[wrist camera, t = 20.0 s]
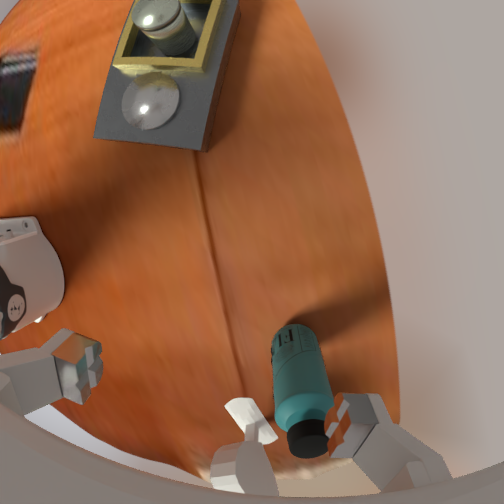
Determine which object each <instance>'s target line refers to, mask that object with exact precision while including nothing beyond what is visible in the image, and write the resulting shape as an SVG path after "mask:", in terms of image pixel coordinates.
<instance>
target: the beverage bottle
mask: <svg viewBox="0 0 504 504" xmlns="http://www.w3.org/2000/svg"><path fill="white" fill-rule="evenodd" d="M271 342H272V347H271V353H272V358H271V364H272V361H273V365H272V366H273V379H272V380H273V382H274V385H273V386H274V389H273V390H274V394H273V396H274V398H273V399H274V400H275V405H274V406H275V421H276V423H277V425H278V426H279V427H280V428H281V429H283V430H284V431H286V432H287V441H288V444H289V450H290V452H291V453H292V454H293V455H294V456H296V457H299V458H315V457H318V456H321V455H323V454H324V453H326V452H327V451H328V446H327V443H328V441H329V439H330V438H329V437H328V436H327V435H326V434H325V430H324V422H325V417H326V415H327V412H328V410H329V409H330V408H332V407H333V406H335V405H334V401H333V400H334V398H333V394H332V391H331V387H330V384H329V380H328V377H327V373H326V370H325V366H324V364H325V363H324V362H323V361H325V360H324V359H323V354H322V355H321V351H320V350H321V348H319V344H320V343H319V344H318V341H317V338H316V335H315V334H314V332H313V331H312V330H311V329H310V328H308V327H307V326H304V325H301V324H290V325H287V326H284V327H283V328H281V329H280V330H279V331H278V332H277V333H276V334H275V335H274V338H273V340H272V341H271ZM273 386H272V388H273ZM272 392H273V391H272Z"/></svg>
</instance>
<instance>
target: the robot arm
mask: <svg viewBox="0 0 504 504" xmlns="http://www.w3.org/2000/svg"><path fill="white" fill-rule="evenodd" d="M27 225H28V226H27ZM63 294H64V275H63V270H62V266H61V263H60V260H59V258H58V256H57V254H56V252H55V250H54V248H53V247H52V245H51V244H50V242H49V241H48V240H47V239H46V238H45V236H44V235H43V233H42V230H41V228H40V225H39V223H38V221H37V219H36V218H35V217H34V216H29V217H16V218H4V219H0V340H1V339H3V338H6V337H7V336H8V334H10V333H11V332H16V331H18V330H19V329H21V328H23V327H25V326H26V325H28V324H30V323H32V322H33V321H35V322H37V323H38V322H40V321H42V320H43V319H44V317H45V315H46V313H48V312H50V311H52V310H54V309H55V308H57V307H58V305H59V304H60V302H61V300H62V298H63ZM101 352H102V347H101V343H100V342H99V341H97V340H94V339H92V338H89V337H86V336H84V335H81V334H79V333H76V332H73V331H71V330H69V329H66V328H63V329H61V330H60V331H59V332H57V333H56V334H55V335H54V336H53V337H52V338H51V339H49V340H48V341H47V342H46V343H45V344H44V345H43V346H42V347H40V348H39V349H38V348H31V349H27V350H22V351H17V352H13V353H8V354H3V355H0V504H504V462H501V463H499V464H496V465H493V466H491V467H488V468H485V469H483V470H480V471H477V472H474V473H471V474H467V475H464V476H461V477H458V478H454V479H453V478H452V476H451V474H450V472H449V470H448V468H447V466H446V464H445V462H444V460H443V457H442V456H441V455H440V454H438V453H437V452H435V451H434V450H432V449H431V448H430V447H428V446H427V445H425V444H424V443H423V442H421V441H420V440H418V439H417V438H416V437H414V436H413V435H411V434H410V433H409V432H407V431H406V430H404V429H403V428H402V427H400V426H399V425H398V424H393V423H392V420H391V418H390V416H389V414H388V412H387V409H386V407H385V405H384V403H383V401H382V398H381V396H380V395H379V394H369V393H365V394H360V393H344V392H339V393H338V394H337V395H336V396H335V398H334V400H333V401H334V405H335V406H333V407H332V408H330V409H329V410H328V412H327V415H326V417H325V422H324V430H325V434H326V435H327V436H328V437H329V438H330V439H329V441H328V443H327V446H328V451H329V456H330V458H353V461H354V462H355V463H356V464H357V465H358V466H359V467H360V468H361V470H362V471H363V472H364V473H365V474H366V475H367V476H368V477H369V478H370V480H371V481H372V482H373V483H374V484H375V485H376V486H377V487H378V488H379V489H380V490H381V492H380V493H379V494H370V495H360V496H346V497H322V498H320V497H316V498H309V497H279V496H265V495H254V494H245V493H238V492H230V491H224V490H218V489H212V488H207V487H202V486H197V485H192V484H188V483H183V482H179V481H175V480H171V479H168V478H163V477H160V476H157V475H153V474H150V473H147V472H144V471H140V470H137V469H134V468H131V467H128V466H126V465H122V464H120V463H117V462H115V461H112V460H109V459H107V458H104V457H102V456H99V455H97V454H94V453H92V452H90V451H87V450H85V449H83V448H81V447H78V446H76V445H74V444H72V443H70V442H68V441H66V440H64V439H62V438H60V437H58V436H56V435H54V434H52V433H50V432H48V431H46V430H44V429H43V428H41V427H39V426H37V425H36V424H34V423H32V422H31V421H29V420H27V419H26V418H25V417H24V415H26V414H28V413H30V412H33V411H35V410H37V409H39V408H41V407H43V406H46V405H48V404H50V403H52V402H55V401H57V400H59V399H61V398H62V397H65V398H67V399H69V400H72V401H74V402H76V403H79V404H81V405H83V404H84V403H85V401H86V400H87V399H88V397H89V396H90V394H91V389H90V388H92V387H95V386H97V384H98V383H99V381H100V379H101V376H102V374H103V361H102V360H101V358H100V357H99V355H100V354H101Z"/></svg>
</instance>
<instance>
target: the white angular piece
mask: <svg viewBox="0 0 504 504" xmlns="http://www.w3.org/2000/svg"><path fill="white" fill-rule="evenodd" d="M225 408H226V409H227V410H228V412H229V413H230V415H231V416H232V417H233V419H234V420H235V421H236V423H237V424H238V425H239V427H240V428H241V429H242V431H243V432H244V433H245V441H244V442H239V443H234V444H229V445H224V446H221V447H220V448H219V449H218V450H217V451H216V452H215V454H214V457H213V460H212V463H211V472H210V479H211V482H212V484H213V487H214V488H215V489H218V490H224V491H230V492H238V493H245V494H254V495H265V496H279V491H278V487H277V483H276V479H275V476H274V473H273V470H272V467H271V465H270V462H269V460H268V458H267V455H266V453H265V450H264V448H263V445H262V444H269V443H271V442H273V441H275V440H276V439H277V438H278V437H277V435H276V434H275V432H274V431H273V429H272V428H271V426H270V425H269V423H268V422H267V421H266V419H265V418H264V416H263V415H262V413H261V411H260V410H259V408H258V407H257V405H256V404H255V402H254V401H253V399H252V398H235V399H233V400H231V401H229V402H228V403H227V404H226V405H225Z"/></svg>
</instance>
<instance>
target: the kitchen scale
mask: <svg viewBox="0 0 504 504" xmlns="http://www.w3.org/2000/svg"><path fill="white" fill-rule="evenodd" d="M138 1H139V0H134V2H133V4H132V6H131V9H130V11H129V14H128V16H127V19H126V22H125V24H124V27H123V30H122V32H121V35H120V38H119V41H118V44H117V47H116V50H115V53H114V56H113V59H112V63H111V66H110V69H109V73H108V76H107V80H106V84H105V87H104V91H103V95H102V99H101V103H100V108H99V112H98V117H97V121H96V126H95V131H94V137H93V138H96V139H103V140H110V141H121V142H131V143H141V144H149V145H158V146H165V147H173V148H180V149H187V150H194V151H200V152H206V153H207V151H208V146H209V141H210V136H211V132H212V127H213V122H214V118H215V113H216V109H217V105H218V100H219V96H220V92H221V88H222V83H223V79H224V75H225V71H226V67H227V63H228V60H229V56H230V52H231V48H232V45H233V41H234V37H235V34H236V30H237V26H238V23H239V19H240V16H241V12H240V6H239V0H179V1H180V3H181V6H182V8H183V10H184V12H185V14H186V16H187V17H188V19H189V21H190V23H191V25H192V27H193V29H194V31H195V34H196V38H195V41H194V44H193V45H192V47H191V48H190V49H188V50H187V51H186V52H184V53H182V54H179V55H174V56H171V55H166V54H164V53H162V52H161V51H160V50H159V49H158V48H157V46H156V45H155V44H154V43H153V42H152V41H151V40H150V39H149V38H148V37H147V36H146V35H145V34H144V33H143V32H142V30H141V29H139V28H138V27H137V26H136V25H135V24H134V23H133V21H132V17H131V16H132V10H133V8H134V6H135V5H136V3H137V2H138Z"/></svg>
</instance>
